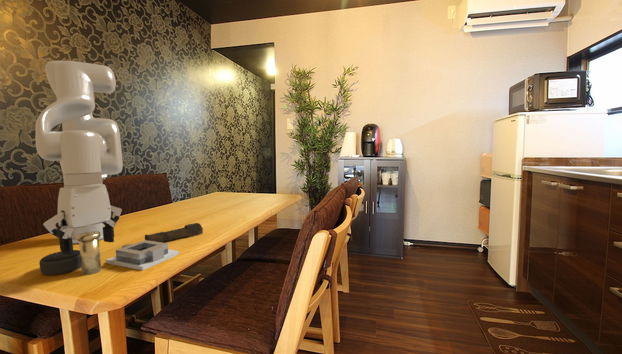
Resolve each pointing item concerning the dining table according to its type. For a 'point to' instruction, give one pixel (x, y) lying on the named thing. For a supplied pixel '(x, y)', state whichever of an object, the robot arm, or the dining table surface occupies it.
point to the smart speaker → (60, 263)
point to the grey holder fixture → (142, 252)
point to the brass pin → (89, 252)
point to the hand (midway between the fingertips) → (89, 247)
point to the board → (146, 265)
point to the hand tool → (176, 233)
